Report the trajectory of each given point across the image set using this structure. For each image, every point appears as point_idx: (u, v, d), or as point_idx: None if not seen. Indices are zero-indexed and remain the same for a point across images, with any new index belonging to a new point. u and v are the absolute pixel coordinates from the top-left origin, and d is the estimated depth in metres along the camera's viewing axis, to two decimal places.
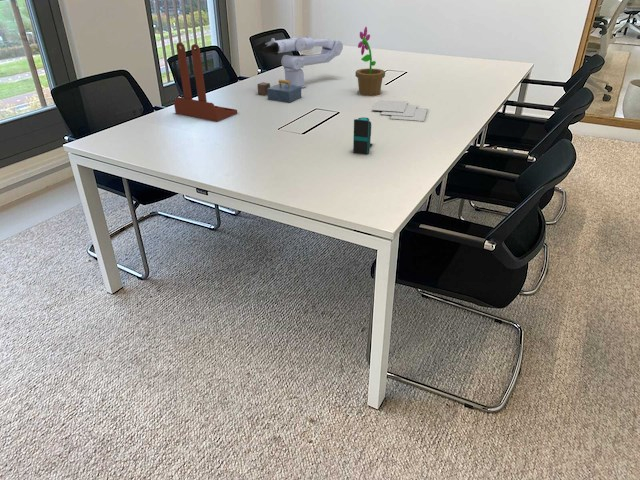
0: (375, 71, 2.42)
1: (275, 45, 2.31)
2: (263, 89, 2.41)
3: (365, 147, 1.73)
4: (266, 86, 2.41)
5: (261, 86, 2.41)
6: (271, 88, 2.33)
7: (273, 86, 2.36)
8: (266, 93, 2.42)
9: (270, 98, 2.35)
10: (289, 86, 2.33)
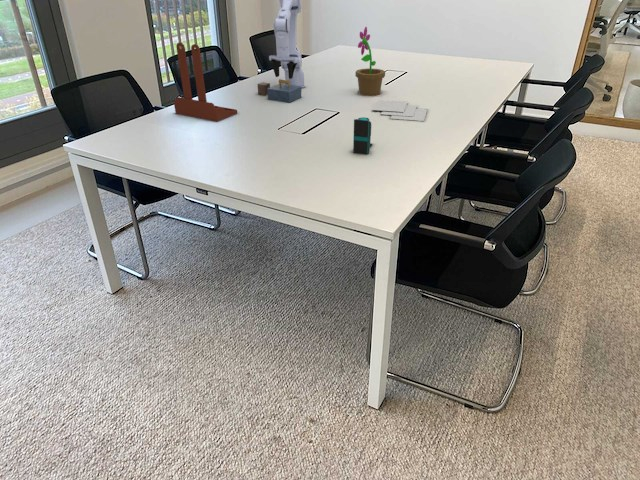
0: (375, 71, 2.42)
1: (291, 66, 2.25)
2: (263, 89, 2.41)
3: (365, 147, 1.73)
4: (266, 86, 2.41)
5: (261, 86, 2.41)
6: (271, 88, 2.33)
7: (273, 86, 2.36)
8: (266, 93, 2.42)
9: (270, 98, 2.35)
10: (289, 86, 2.33)
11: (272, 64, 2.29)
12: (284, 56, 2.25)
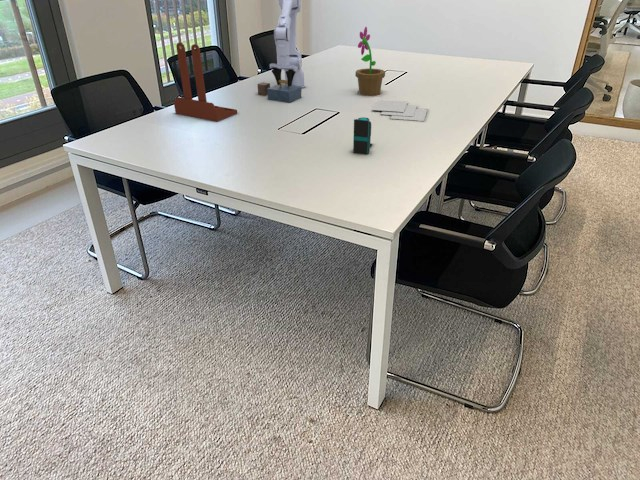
0: (375, 71, 2.42)
1: (290, 74, 2.28)
2: (263, 89, 2.41)
3: (365, 147, 1.73)
4: (266, 86, 2.41)
5: (261, 86, 2.41)
6: (271, 88, 2.33)
7: (273, 86, 2.36)
8: (266, 93, 2.42)
9: (270, 98, 2.35)
10: None
11: (274, 72, 2.31)
12: (284, 64, 2.27)
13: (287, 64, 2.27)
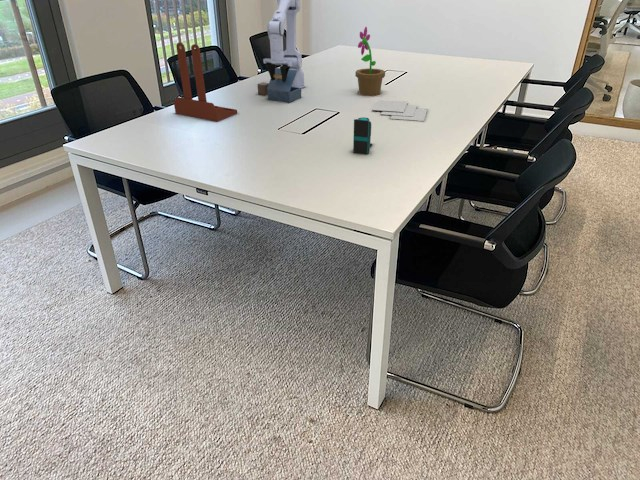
0: (375, 71, 2.42)
1: (285, 69, 2.23)
2: (263, 89, 2.41)
3: (365, 147, 1.73)
4: (266, 86, 2.41)
5: (261, 86, 2.41)
6: (270, 87, 2.33)
7: (270, 80, 2.33)
8: (266, 93, 2.42)
9: (270, 98, 2.35)
10: None
11: (268, 67, 2.26)
12: (278, 59, 2.22)
13: (281, 59, 2.22)
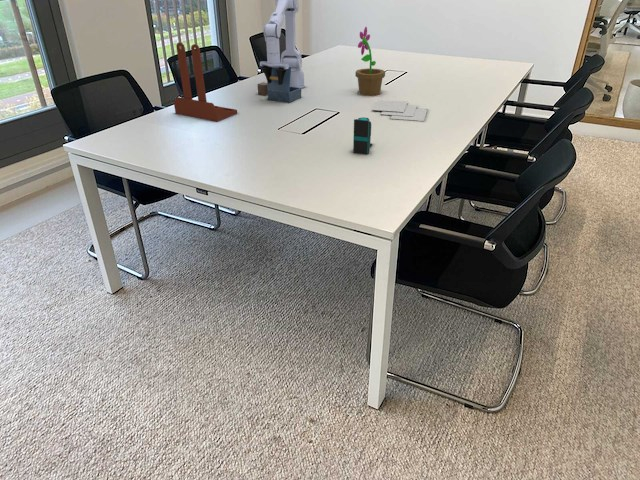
0: (375, 71, 2.42)
1: (281, 72, 2.21)
2: (263, 89, 2.41)
3: (365, 147, 1.73)
4: (266, 86, 2.41)
5: (261, 86, 2.41)
6: (270, 87, 2.32)
7: None
8: (266, 93, 2.42)
9: (270, 98, 2.35)
10: None
11: (264, 70, 2.24)
12: (275, 62, 2.20)
13: (277, 62, 2.21)
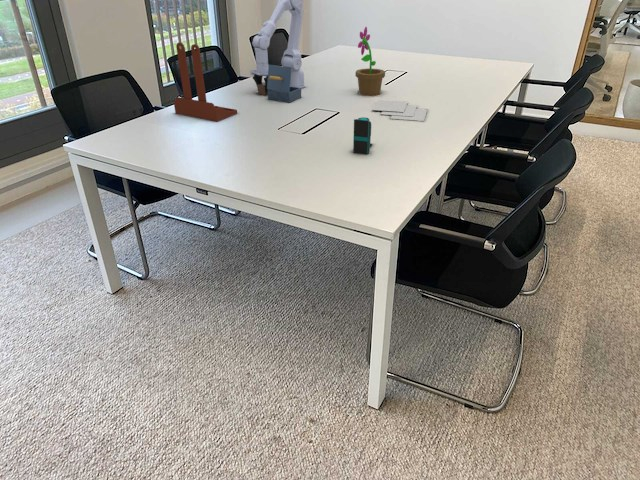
0: (375, 71, 2.42)
1: None
2: (263, 89, 2.41)
3: (365, 147, 1.73)
4: None
5: (261, 86, 2.41)
6: (270, 87, 2.32)
7: (268, 79, 2.32)
8: (266, 93, 2.42)
9: (270, 98, 2.35)
10: (282, 78, 2.27)
11: (255, 79, 2.40)
12: (263, 71, 2.36)
13: (266, 71, 2.37)
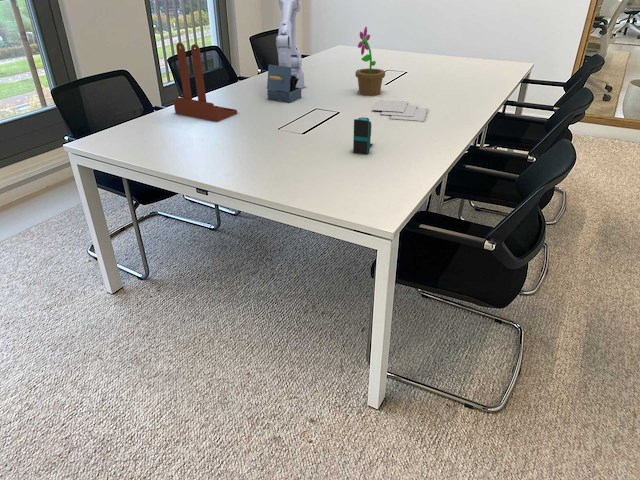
0: (375, 71, 2.42)
1: (293, 81, 2.30)
2: None
3: (365, 147, 1.73)
4: None
5: None
6: (270, 87, 2.32)
7: (268, 79, 2.32)
8: None
9: (270, 98, 2.35)
10: (282, 78, 2.27)
11: None
12: None
13: None
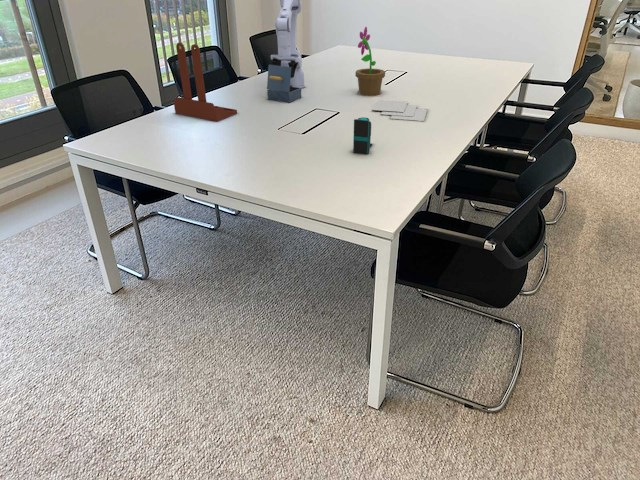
0: (375, 71, 2.42)
1: (293, 65, 2.26)
2: None
3: (365, 147, 1.73)
4: None
5: None
6: (270, 87, 2.32)
7: (268, 79, 2.32)
8: None
9: (270, 98, 2.35)
10: (282, 78, 2.27)
11: (273, 63, 2.30)
12: (285, 55, 2.26)
13: (288, 55, 2.26)
